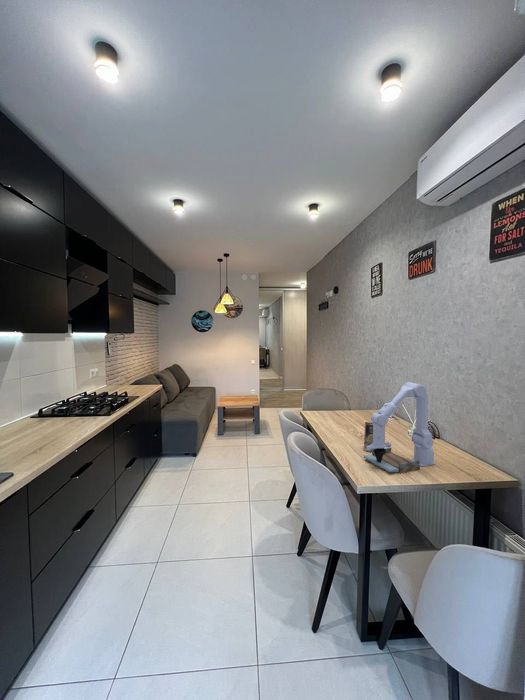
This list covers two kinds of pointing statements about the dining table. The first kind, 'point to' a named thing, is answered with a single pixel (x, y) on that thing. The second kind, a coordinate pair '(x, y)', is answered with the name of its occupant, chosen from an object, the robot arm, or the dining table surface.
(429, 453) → the robot arm
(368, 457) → the bar
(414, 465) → the flatbed
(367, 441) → the coffee box
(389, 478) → the dining table surface
